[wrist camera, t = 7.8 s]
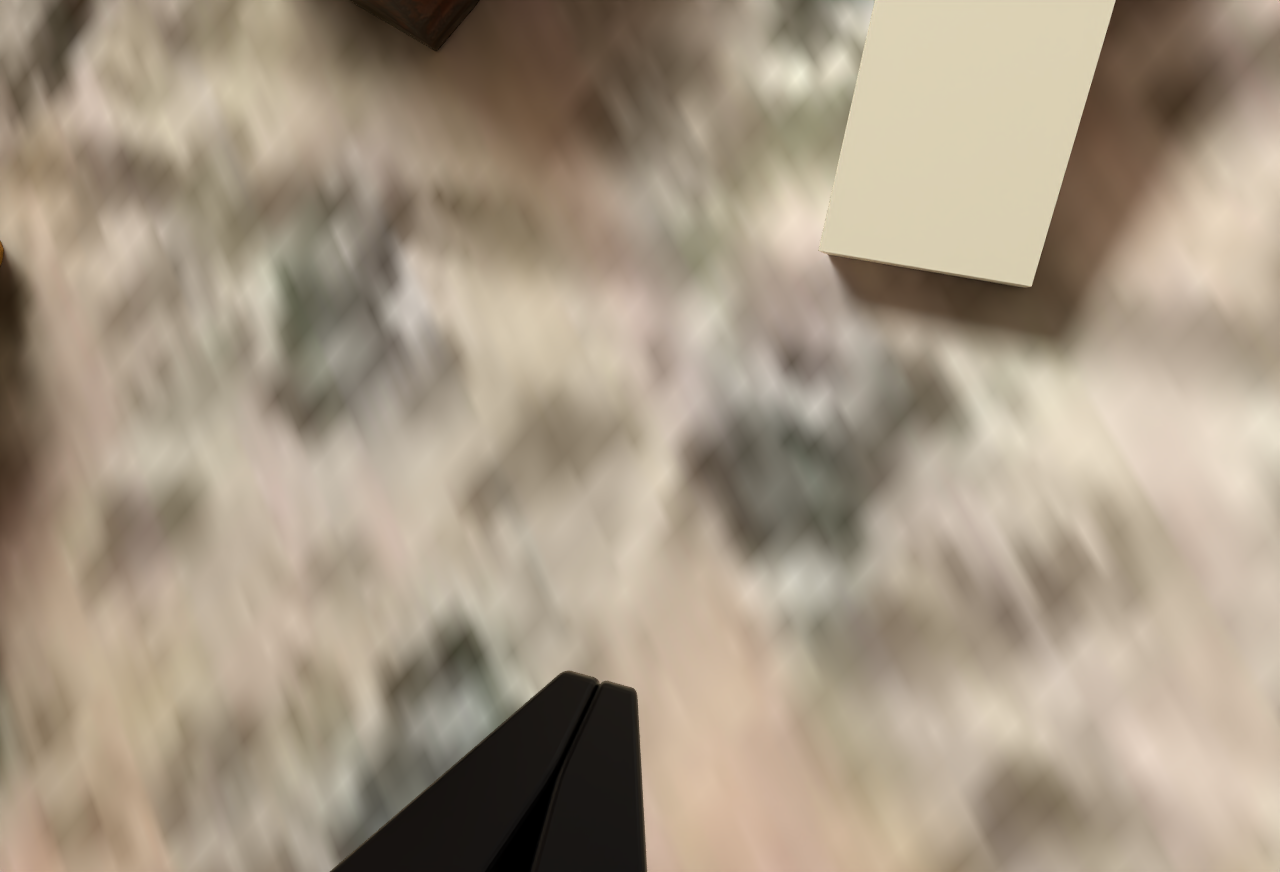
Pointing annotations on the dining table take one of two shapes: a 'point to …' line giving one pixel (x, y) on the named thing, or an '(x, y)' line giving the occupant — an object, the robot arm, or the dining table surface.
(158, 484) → the dining table surface
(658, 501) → the dining table surface
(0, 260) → the bread
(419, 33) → the dark brown boxy piece
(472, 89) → the dining table surface
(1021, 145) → the domino
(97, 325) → the dining table surface
